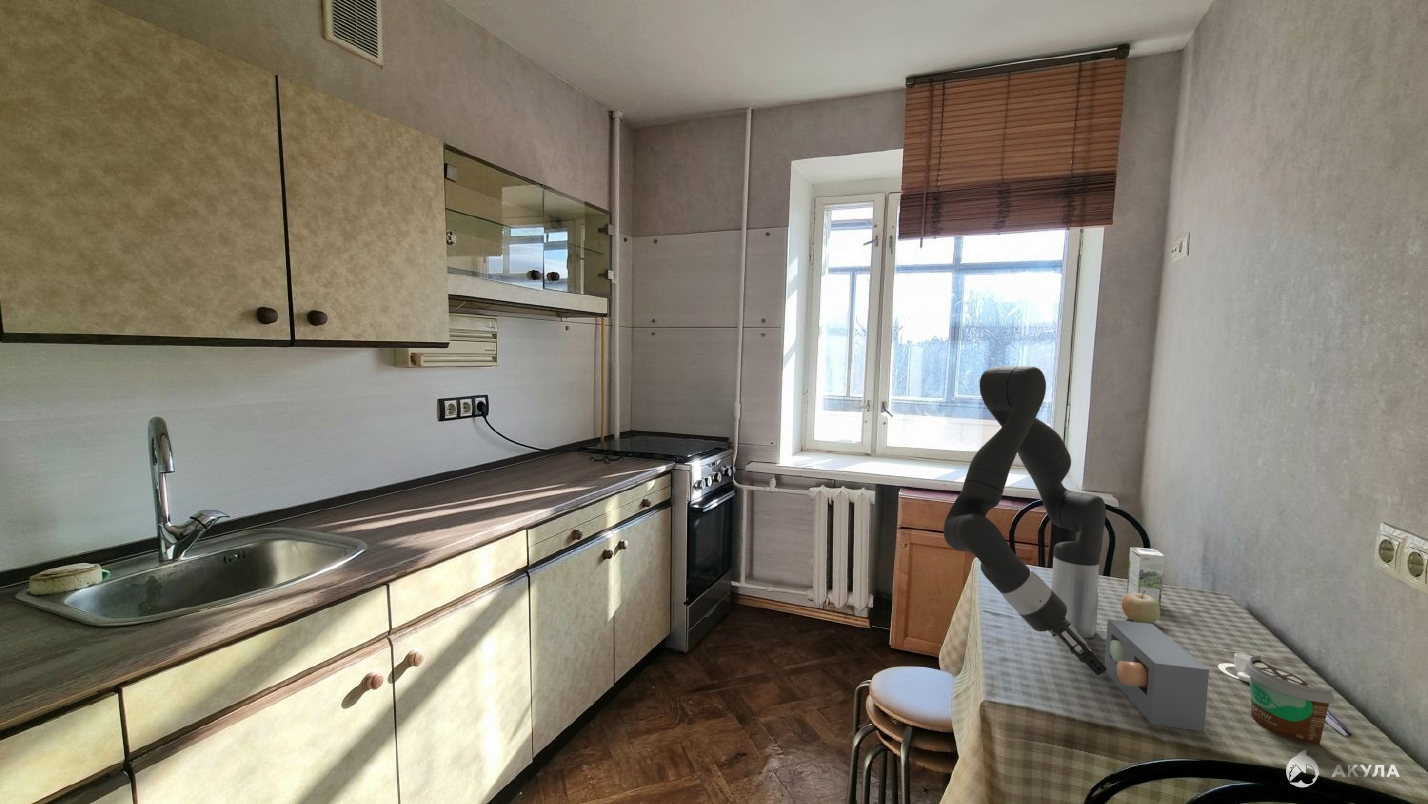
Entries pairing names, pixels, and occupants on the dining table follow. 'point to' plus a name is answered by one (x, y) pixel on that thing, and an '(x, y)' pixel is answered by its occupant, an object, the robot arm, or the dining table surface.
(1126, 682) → the terracotta button
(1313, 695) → the food container
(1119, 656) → the sage button
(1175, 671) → the block
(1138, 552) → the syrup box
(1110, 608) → the dining table surface
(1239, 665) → the teacup and saucer
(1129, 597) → the fruit
